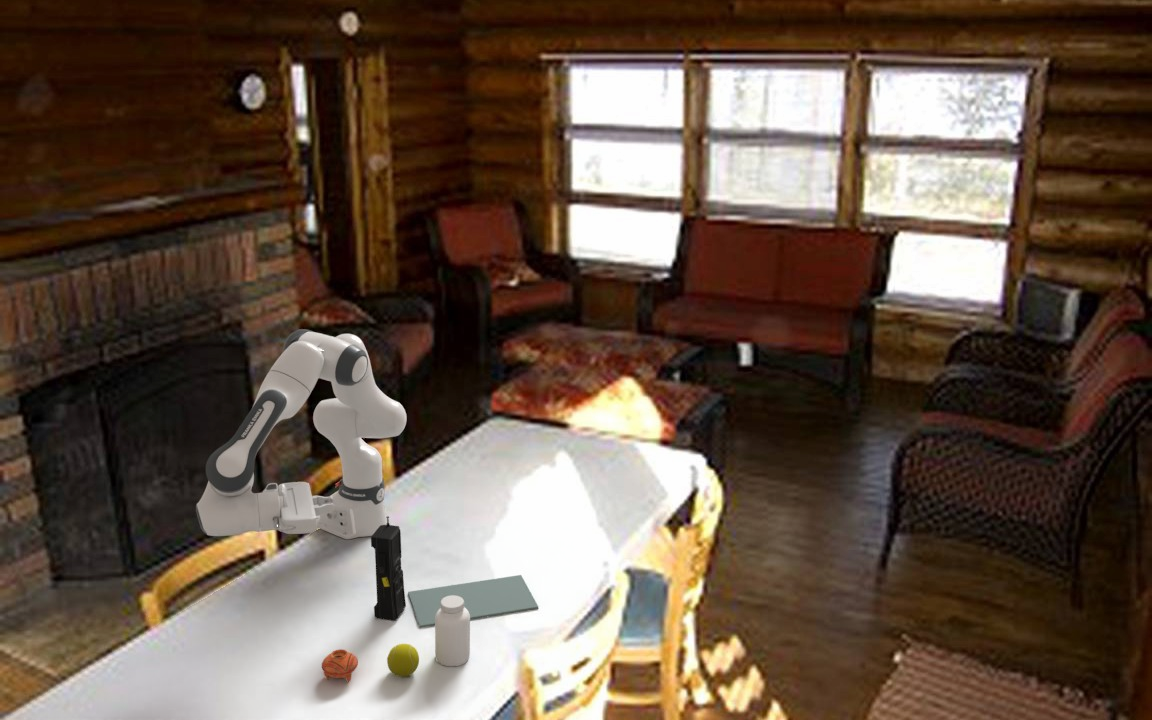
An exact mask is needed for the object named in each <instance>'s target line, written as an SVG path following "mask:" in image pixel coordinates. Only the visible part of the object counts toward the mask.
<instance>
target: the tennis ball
mask: <svg viewBox="0 0 1152 720" xmlns="http://www.w3.org/2000/svg"><path fill="white" fill-rule="evenodd" d="M386 660H387V661H386V662H387V668H388V669H389V671H390V673H392V674H393V676H396V677H399V678H406V677H408V676H412V674H414V673H415V671H417V669H418V666H419V662H420V657H419V652H418V651H417V649H416V647H414V646H413V645H412V644H408V643H399V644H397V645H395V646H393V647H392V648H391V650H390V651H389V653H388V656H387V659H386Z"/></svg>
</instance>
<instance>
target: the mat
mask: <svg viewBox="0 0 1152 720" xmlns="http://www.w3.org/2000/svg"><path fill="white" fill-rule="evenodd" d="M407 594H408V597H409V600H410V603H411V606H412V609H413V611H414V614H415V618H416V621H417V624H418V626H419V628H420V629H421V628H427V627H428V628H429V627H433V626H434V627H435V616H436V613H437V611H438V610H439V609H440V608H441V600H442V599H443V598H444V597H446V596H451V595H455V596H459V597H461V598H462V599H463V600H464V607H465V608H466V609H467V610H468V612H469V614H470V619H471V620H476V619H475V618H478V619H481V618H480V617H484V618H489V617H490V618H491V617H494V616H495V617H496V616H501V615H508V614H513V613H518V612H519V613H520V612H525V611H533V610H537V609H539V605H538V603H537V601H536V599H535V598H534V595H533V594H532V592H531V590H530V588H529V587H528V585H527V583H526V582H525V580H524V577H523V576H522V574H519V575H512V576H505V577H498V578H492V579H485V580H478V581H472V582H465V583H458V584H452V585H445V586H444V585H443V586H440V587H431V588H425V589H417V590H413V591H412V590H411V591H408V593H407ZM487 616H489V617H487Z"/></svg>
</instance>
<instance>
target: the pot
mask: <svg viewBox="0 0 1152 720" xmlns="http://www.w3.org/2000/svg"><path fill="white" fill-rule="evenodd" d="M358 665H359V659H358V657H357V656H356V655H354V654H353V653H352V652H349V651H347V650H346V649H342V648H341V649H336V650H333V651H332V652H331V653H329V654H328V655H327V656H325V658H324V659H323V660H322V662H321V670H322V672H323V675H324V677H325V679H326V680H329V679H330V677H331V678H333V679H334V678H335V679H342V678H345V679H346V682H347V683H350V682H351V681H352V673H353V672H354V671H356V669H357V667H358Z"/></svg>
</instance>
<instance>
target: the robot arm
mask: <svg viewBox="0 0 1152 720" xmlns="http://www.w3.org/2000/svg"><path fill="white" fill-rule="evenodd" d="M283 344H284V345H283V348H282V353H281V355H280V356H278V358H277V359H276V361H275V362H274V364H273V365H272V366H271V368H270V369H269V371H268V372H267V374H266V376H265V377H264V380H263V381H262V383H261V385H260V388H259V389H258V392H257V395H256V398H255V400H254V402H253V405H252V408H251V409H250V411H249V412H248V414H247V415H246V417H245V418H244V420H243V421H242V423H241V424H240V425H239V426H238V429H237V430H236V432H235V433H234V435H233V436H232V437H231V438H230V439H229V440H228V441H227V442H226V443H224V444H223V445H221V446H220V447H218V448H217V449H216V450H214V452H212V453H211V454H210V455H209V457H208V459H207V460H206V464H205V475H206V478H207V480H208V482H207V484H206V487H205V489H204V492H203V494H202V495H201V498H200V499H199V501H198V502H197V503H196V505H195V512H196V516H197V519H198V520H197V521H198V522H199V527H200V529H201V530H202V532H203V533H204V534H206V535H207V536H209V537H211V536H212V537H226V536H235V535H242V534H244V533H248V532H254V533H255V532H256V533H259V532H268V531H279V532H282V533H284V534H288V535H298V534H299V535H300V534H303V535H304V534H312V533H314V532H316V531H317V530H318V529H320V530H322V531H325V532H327V533H329V534H332V535H335V536H337V537H340V538H342V539H344V540H351V539H355V538H361V537H363V538H364V537H371V536H372V535H373V534H374V533H375V531H376V530H377V529H378V528H379V526H380V525H387V518H386V517H387V516H388V513H387V509H386V505H385V503H386V502H385V479H384V477H383V461H382V460H383V457H382V456H381V453H380V452H379V451H378V449H376V448H375V447H374V446H372V445H371V444H368V443H366V442H365V441H364V440H363V439H365V438H366V439H387V438H393V437H397V436H400V435H401V433H402V432H403V431H404V429H405V427H406V425H407V417H408V416H407V413H406V409H405V408H404V406H403V404H401V403H400V402H399V401H397V400H394V399H392V398H390V397H389V396H387V394H385V393H384V392H383V391H382V390H381V389H380V388H379V387H378V386H377V384H376V381H375V377H374V374H373V369H372V365H371V360H370V357H369V354H368V351H367V349H366V346H365V344H364V341H363V340H362V339H361V338H360V337H359V336H358V335H355V334H352V333H341V334H339V335H337V336H332V335H329V334H324V333H320V332H315V331H313V330H312V329H311V330H310V329H305V328H304V329H303V328H301V329H297V330H295V331H293V332H291V333H290V334H289V335H288V336H287V338H286V340H285V341H284V343H283ZM319 379H321V380H325V381H328V382H330V383H331V386H332V391H333V394H334V396H335V397H334V398H327V399H323V400H321V401H319V402H318V404H317V405H316V407H315V409H314V411H313V416H312V420H313V424H314V427H315V429H316V430H317V432H318V433H319V434H321V435H322V436H323V437H325V438H326V439H328V441H330V443H331V444H332V445H333V446H334V447H335V449H336V451H337V453H338V455H339V458H340V463H341V470H342V478H341V479H340V480H339V481H338V482H337V483H335V484H334V486H335V489H336V488H338V487H339V489H338V490H337V491H335V492H334V493H332V494H331V495H329V496H322V495H312V490H311V485H310V483H309V482H306V481H297V482H296V481H292V482H283V483H280V484H278V483H277V482H270V483H268V484H267V485H266V486H265V488H264V489H263V490H262V491H261V492H257V493H255V492H253V491H252V487H253V486H254V481H255V475H254V471H255V463H256V457H257V454H258V452H259V450H260V448H261V447H262V445H263V444H264V443H265V441H266V439H267V438H268V436H269V434H270V433H271V432H272V430H273V428H274V427H275V426H276V425H277V424H278V423H279V422H281V421H282V420H287V419H291V418H292V417H294V416H295V415H296V414H297V413H298V412H299V411H300V409H302V407H303V406H304V405H305V403H306V402H307V400H308V399H309V397H310V395H311V393H312V391H313V390H314V388H315V386H316V384H317V382H318V380H319ZM362 438H363V439H362ZM389 524H390V525H391V522H390V520H389Z"/></svg>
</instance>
